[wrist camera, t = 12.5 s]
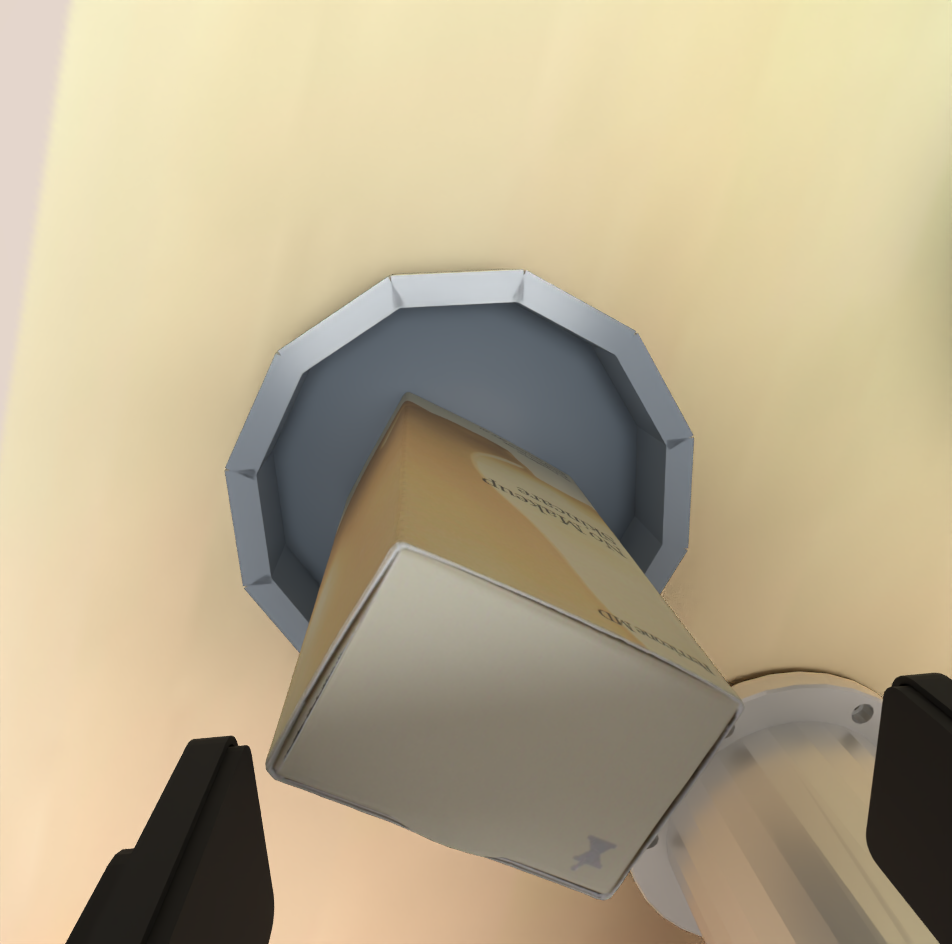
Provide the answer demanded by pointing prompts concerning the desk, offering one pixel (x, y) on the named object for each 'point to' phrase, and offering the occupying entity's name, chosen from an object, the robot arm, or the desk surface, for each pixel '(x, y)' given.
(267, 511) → the slate bowl
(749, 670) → the desk surface
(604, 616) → the skincare box
